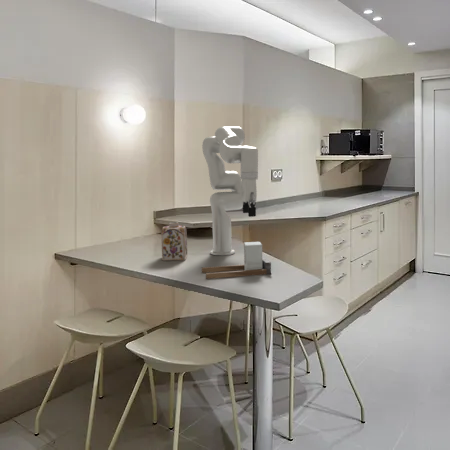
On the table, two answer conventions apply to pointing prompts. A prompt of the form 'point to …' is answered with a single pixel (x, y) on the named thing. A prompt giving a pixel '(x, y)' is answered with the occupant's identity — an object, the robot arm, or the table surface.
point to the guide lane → (233, 273)
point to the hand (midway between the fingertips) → (249, 214)
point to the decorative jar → (174, 242)
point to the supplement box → (252, 255)
